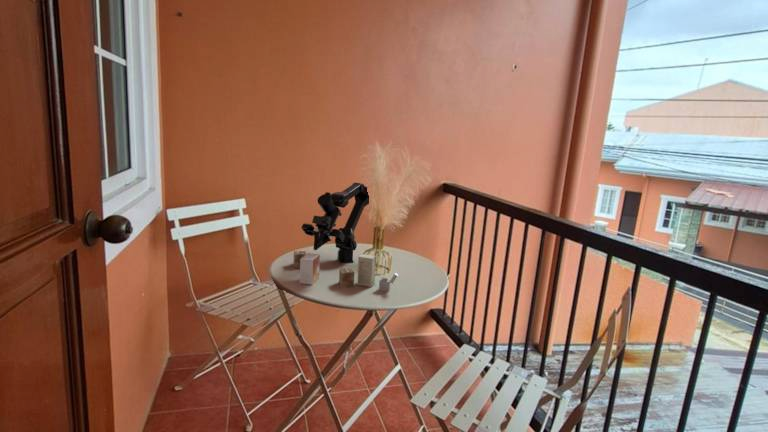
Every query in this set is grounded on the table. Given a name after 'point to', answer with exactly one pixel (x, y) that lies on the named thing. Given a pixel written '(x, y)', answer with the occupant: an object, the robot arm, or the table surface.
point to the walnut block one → (346, 277)
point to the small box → (309, 268)
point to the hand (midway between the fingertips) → (314, 249)
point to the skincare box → (366, 270)
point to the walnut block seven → (298, 258)
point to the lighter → (386, 283)
